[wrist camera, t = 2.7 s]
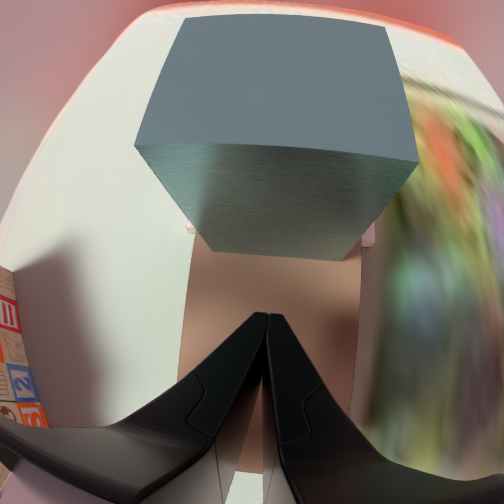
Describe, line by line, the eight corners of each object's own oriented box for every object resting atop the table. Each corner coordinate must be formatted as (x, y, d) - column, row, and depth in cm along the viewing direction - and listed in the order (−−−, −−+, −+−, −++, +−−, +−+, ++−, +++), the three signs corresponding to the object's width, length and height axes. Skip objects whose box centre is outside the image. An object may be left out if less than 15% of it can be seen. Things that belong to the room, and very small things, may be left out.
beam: (330, 443, 17) (347, 476, 12) (189, 429, 17) (162, 456, 12) (344, 103, 23) (354, 58, 18) (233, 96, 24) (225, 50, 18)
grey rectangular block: (340, 261, 14) (419, 162, 6) (212, 251, 15) (133, 145, 6) (340, 167, 15) (384, 26, 7) (226, 159, 16) (185, 18, 7)
